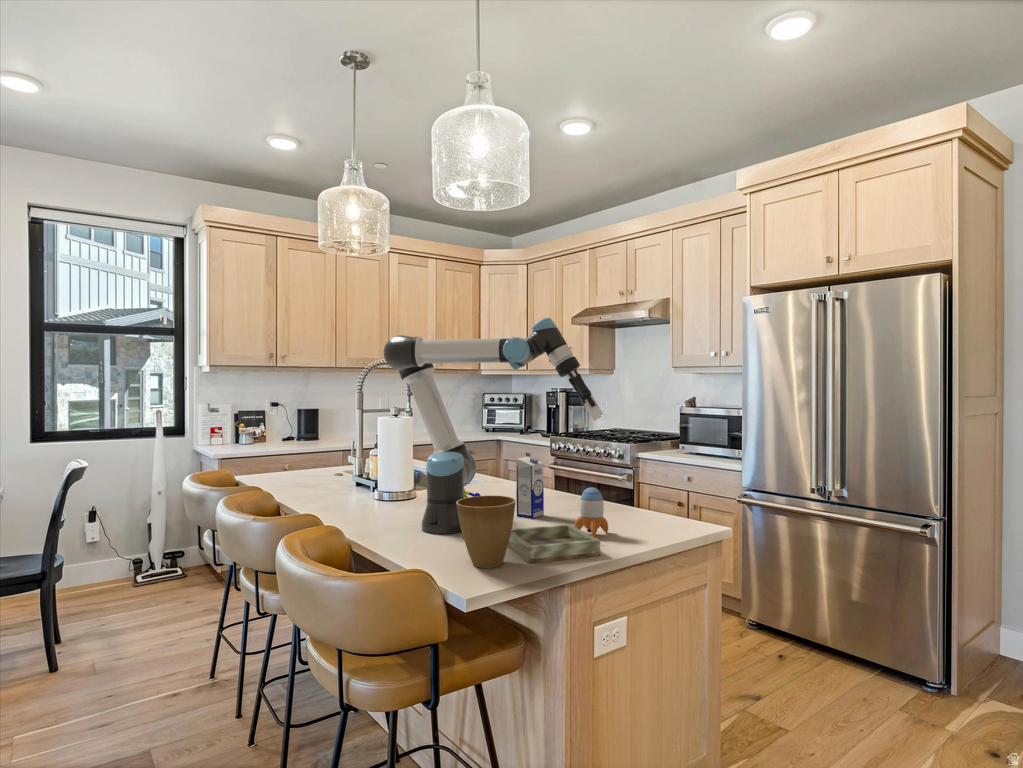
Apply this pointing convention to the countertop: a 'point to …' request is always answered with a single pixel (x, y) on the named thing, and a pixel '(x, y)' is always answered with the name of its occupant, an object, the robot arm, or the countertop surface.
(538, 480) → the milk carton
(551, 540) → the cradle
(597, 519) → the toy rocket
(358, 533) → the countertop surface
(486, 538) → the plant pot
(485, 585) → the countertop surface
